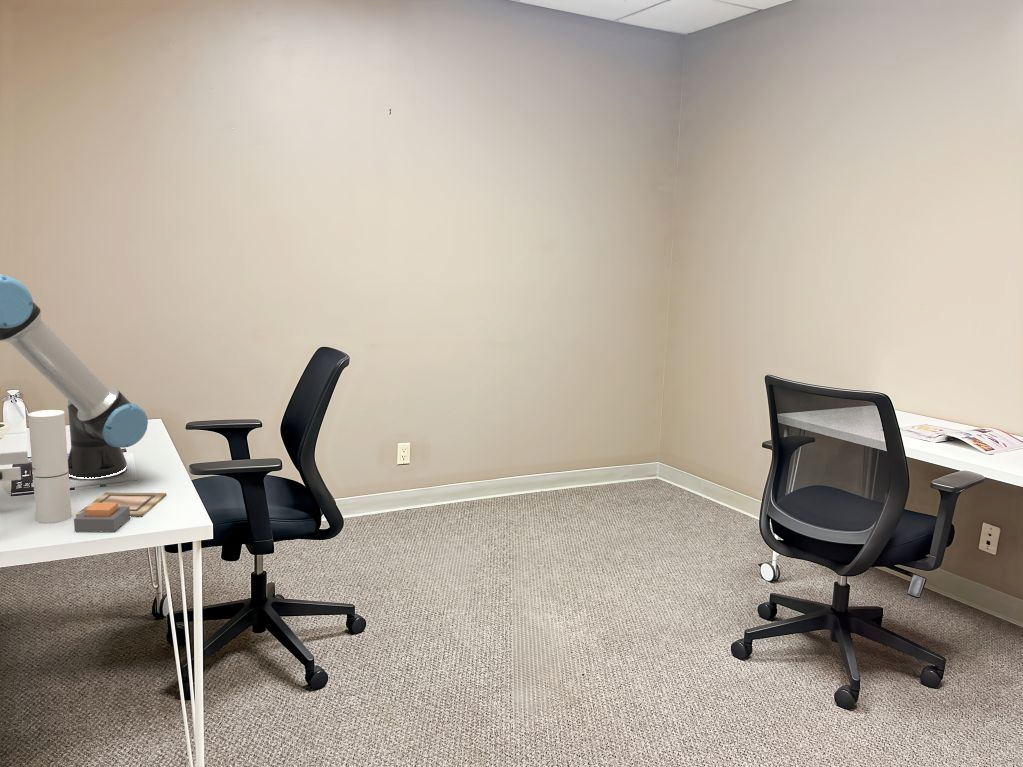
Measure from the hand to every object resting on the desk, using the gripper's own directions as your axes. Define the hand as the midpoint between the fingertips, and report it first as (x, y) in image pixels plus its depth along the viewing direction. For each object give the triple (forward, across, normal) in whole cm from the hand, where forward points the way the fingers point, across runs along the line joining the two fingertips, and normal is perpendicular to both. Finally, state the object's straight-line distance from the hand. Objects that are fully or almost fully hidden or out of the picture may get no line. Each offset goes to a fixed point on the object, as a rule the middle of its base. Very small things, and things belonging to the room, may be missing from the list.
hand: (24, 464), depth 178 cm
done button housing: (+15, +9, -13) cm, 22 cm away
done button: (+15, +9, -12) cm, 21 cm away
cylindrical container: (+5, 0, -14) cm, 14 cm away
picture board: (+20, -4, -13) cm, 24 cm away
